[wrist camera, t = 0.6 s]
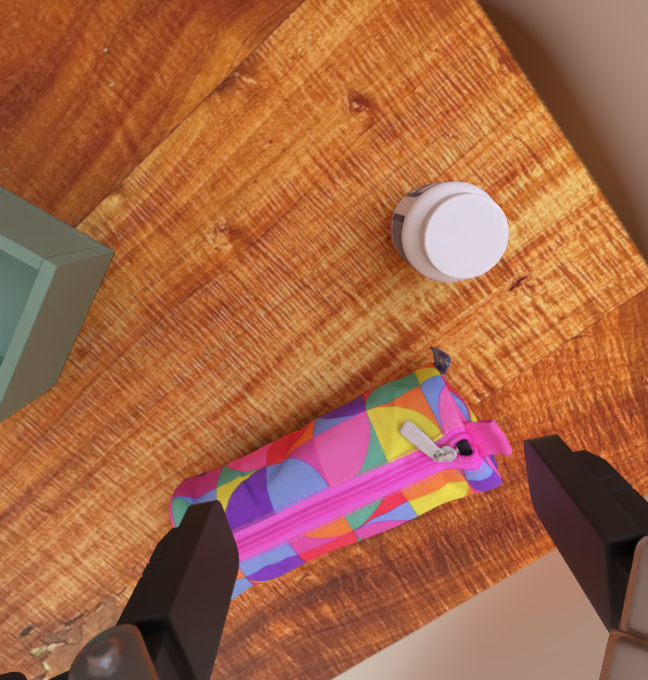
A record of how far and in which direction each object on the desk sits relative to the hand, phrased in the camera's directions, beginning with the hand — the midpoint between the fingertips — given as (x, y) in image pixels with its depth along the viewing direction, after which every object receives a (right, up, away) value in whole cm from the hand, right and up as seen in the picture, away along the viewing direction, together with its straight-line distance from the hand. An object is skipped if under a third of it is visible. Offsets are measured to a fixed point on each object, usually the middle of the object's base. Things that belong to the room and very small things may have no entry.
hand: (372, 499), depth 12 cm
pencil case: (0, -4, +23) cm, 24 cm away
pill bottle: (+6, +12, +18) cm, 22 cm away
